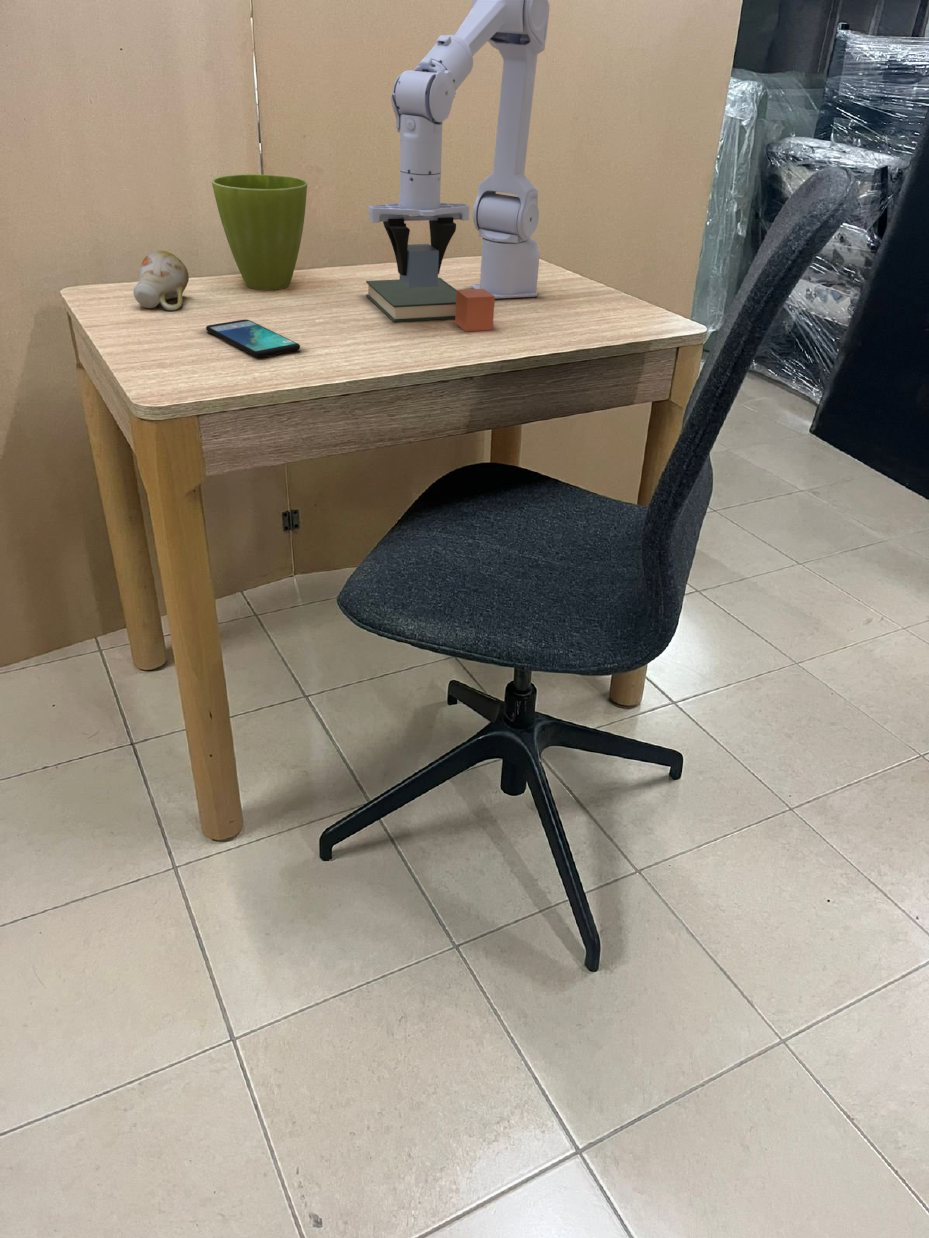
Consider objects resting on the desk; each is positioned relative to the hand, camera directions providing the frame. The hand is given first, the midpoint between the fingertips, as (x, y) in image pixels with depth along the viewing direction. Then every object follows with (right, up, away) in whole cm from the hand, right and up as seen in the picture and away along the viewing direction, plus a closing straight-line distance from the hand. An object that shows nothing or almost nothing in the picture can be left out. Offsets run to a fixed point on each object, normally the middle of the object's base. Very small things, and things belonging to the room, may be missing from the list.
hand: (418, 273), depth 133 cm
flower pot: (-27, +6, +20) cm, 34 cm away
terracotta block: (+8, -6, +6) cm, 12 cm away
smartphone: (-23, -12, -6) cm, 27 cm away
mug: (-41, -2, +8) cm, 41 cm away
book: (-1, 0, +13) cm, 13 cm away
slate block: (0, -1, +1) cm, 1 cm away
